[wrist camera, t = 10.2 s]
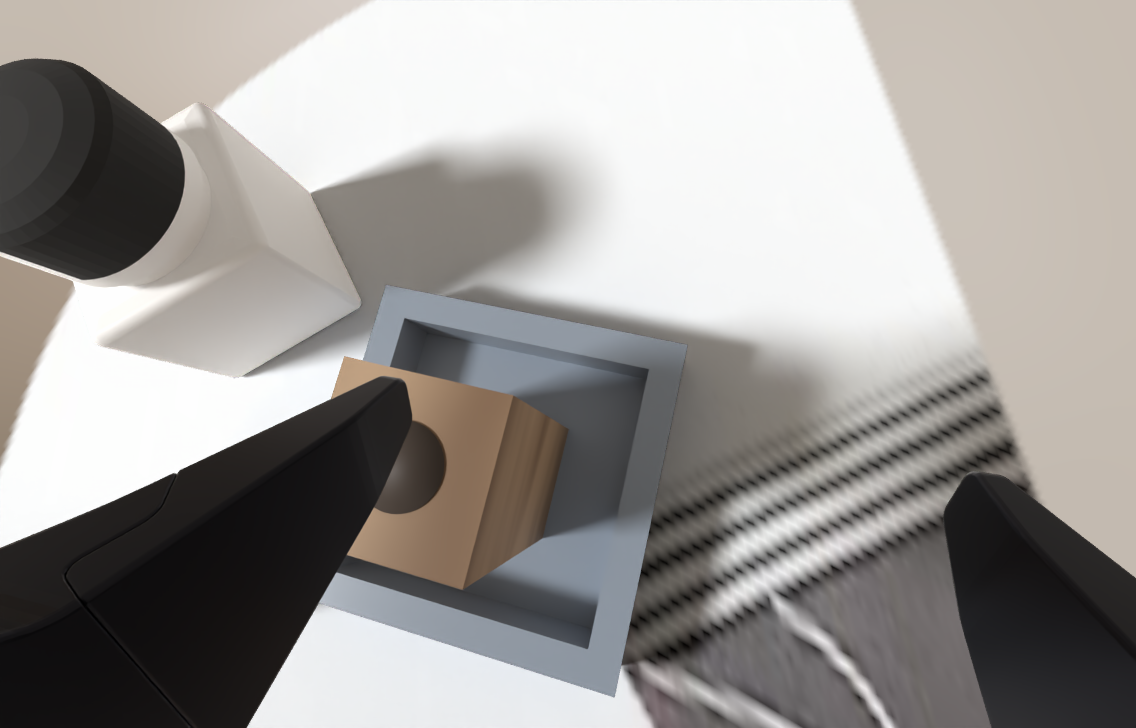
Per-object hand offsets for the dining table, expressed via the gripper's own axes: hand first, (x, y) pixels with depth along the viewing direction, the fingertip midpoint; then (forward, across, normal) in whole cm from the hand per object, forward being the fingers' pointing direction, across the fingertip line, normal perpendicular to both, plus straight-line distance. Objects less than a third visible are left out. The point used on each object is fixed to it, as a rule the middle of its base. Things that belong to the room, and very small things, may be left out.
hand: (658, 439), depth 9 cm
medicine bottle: (+14, +19, +6) cm, 24 cm away
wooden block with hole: (+8, +6, +10) cm, 15 cm away
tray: (+9, +6, +11) cm, 15 cm away
